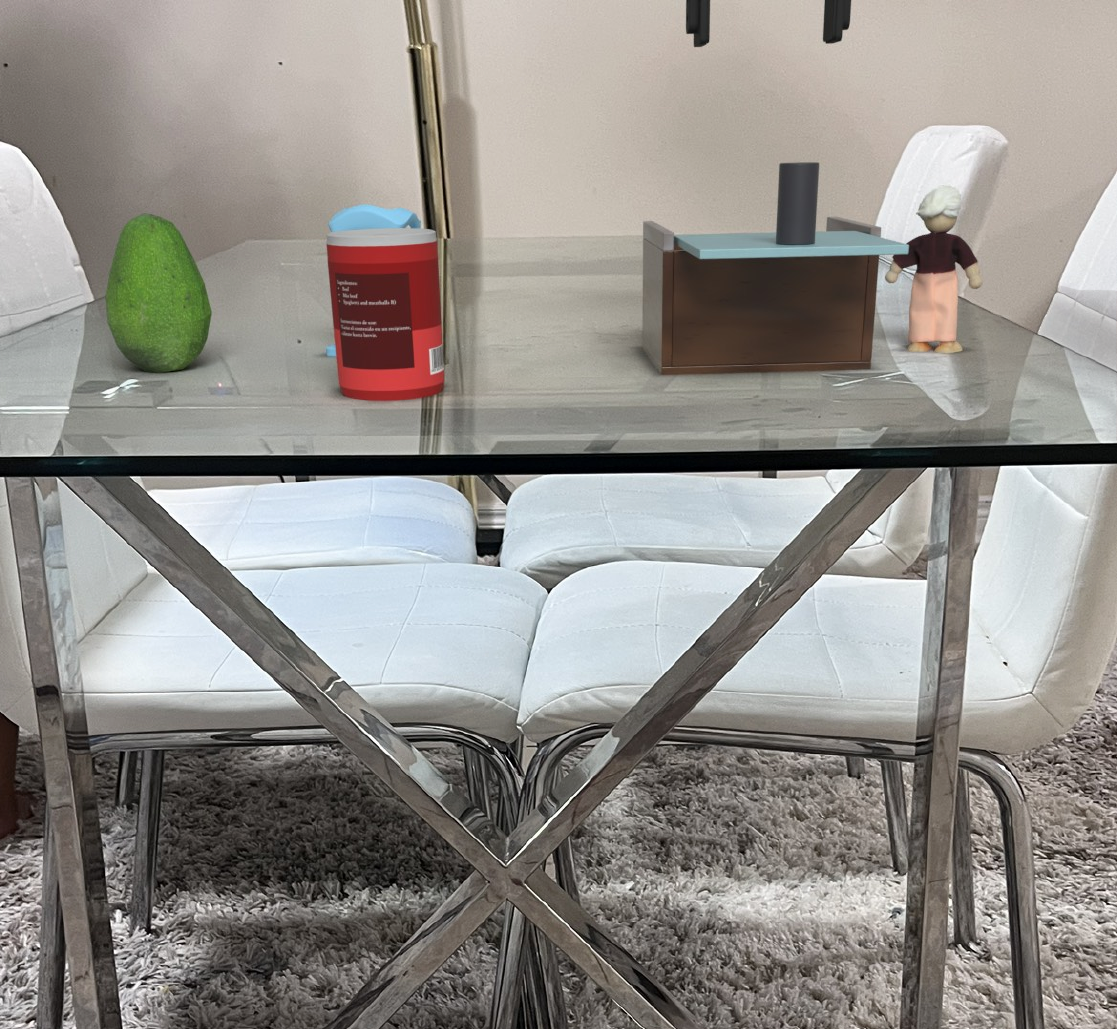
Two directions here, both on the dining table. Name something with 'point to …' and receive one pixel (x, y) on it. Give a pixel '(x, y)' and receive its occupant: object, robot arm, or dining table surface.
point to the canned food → (386, 313)
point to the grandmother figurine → (936, 273)
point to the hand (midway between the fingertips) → (766, 44)
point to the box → (757, 309)
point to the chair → (370, 225)
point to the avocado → (156, 297)
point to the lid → (791, 228)
